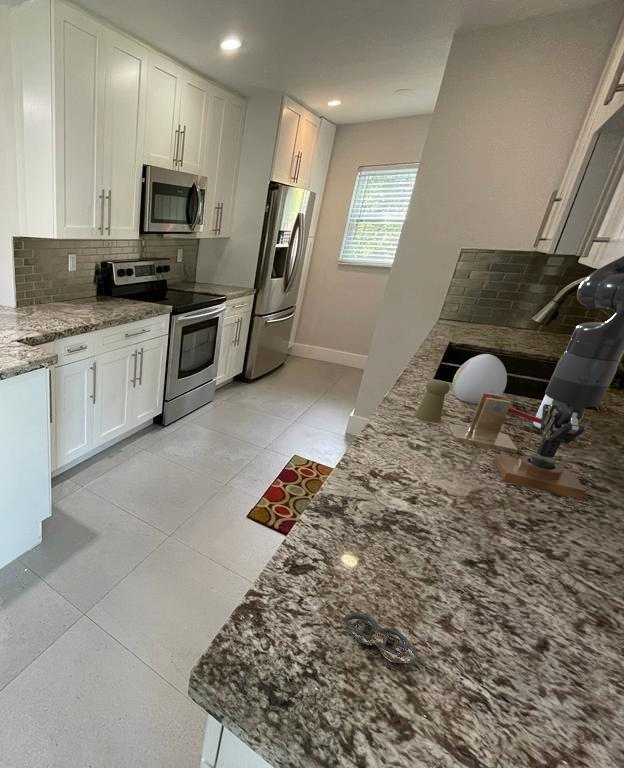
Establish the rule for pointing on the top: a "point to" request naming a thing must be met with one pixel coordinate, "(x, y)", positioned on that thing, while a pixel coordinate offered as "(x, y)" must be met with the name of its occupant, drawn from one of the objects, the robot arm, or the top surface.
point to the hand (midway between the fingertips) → (544, 455)
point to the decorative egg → (479, 378)
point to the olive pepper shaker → (433, 401)
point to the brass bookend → (486, 425)
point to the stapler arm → (523, 414)
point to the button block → (538, 476)
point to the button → (542, 461)
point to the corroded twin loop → (381, 630)
